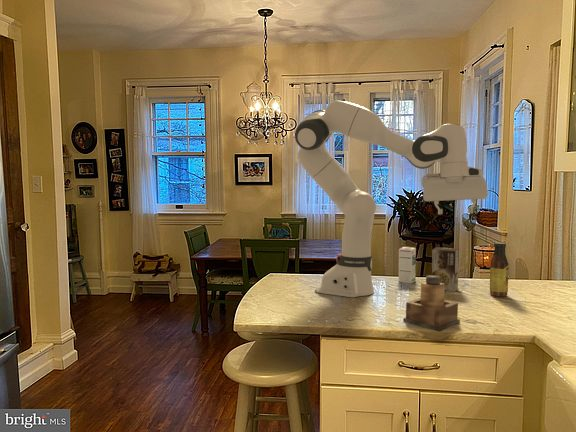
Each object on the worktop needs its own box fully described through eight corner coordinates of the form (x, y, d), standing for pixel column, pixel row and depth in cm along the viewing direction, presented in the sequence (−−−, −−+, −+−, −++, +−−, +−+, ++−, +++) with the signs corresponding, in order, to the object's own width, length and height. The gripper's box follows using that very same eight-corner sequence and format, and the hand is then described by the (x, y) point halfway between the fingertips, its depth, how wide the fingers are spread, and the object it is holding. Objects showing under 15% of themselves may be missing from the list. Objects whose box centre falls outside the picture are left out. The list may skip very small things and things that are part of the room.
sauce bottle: (509, 297, 164) (512, 244, 162) (491, 297, 165) (493, 243, 163) (504, 293, 170) (507, 242, 168) (487, 292, 171) (489, 241, 170)
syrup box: (411, 283, 185) (412, 249, 184) (397, 282, 188) (398, 248, 187) (415, 281, 190) (416, 247, 189) (402, 279, 193) (402, 246, 192)
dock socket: (403, 321, 136) (403, 302, 136) (424, 313, 144) (424, 295, 144) (439, 331, 127) (440, 310, 127) (459, 322, 136) (460, 303, 135)
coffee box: (458, 288, 177) (459, 248, 176) (454, 292, 172) (456, 250, 171) (435, 285, 182) (436, 246, 181) (430, 288, 177) (432, 248, 175)
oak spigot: (420, 318, 136) (421, 276, 135) (428, 315, 139) (430, 274, 138) (435, 322, 132) (436, 279, 131) (443, 319, 136) (444, 277, 135)
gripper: (421, 173, 149) (422, 214, 149) (487, 169, 143) (489, 212, 142) (421, 175, 155) (423, 215, 155) (485, 171, 149) (487, 212, 148)
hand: (455, 213), depth 148 cm, fingers open, 8 cm apart
